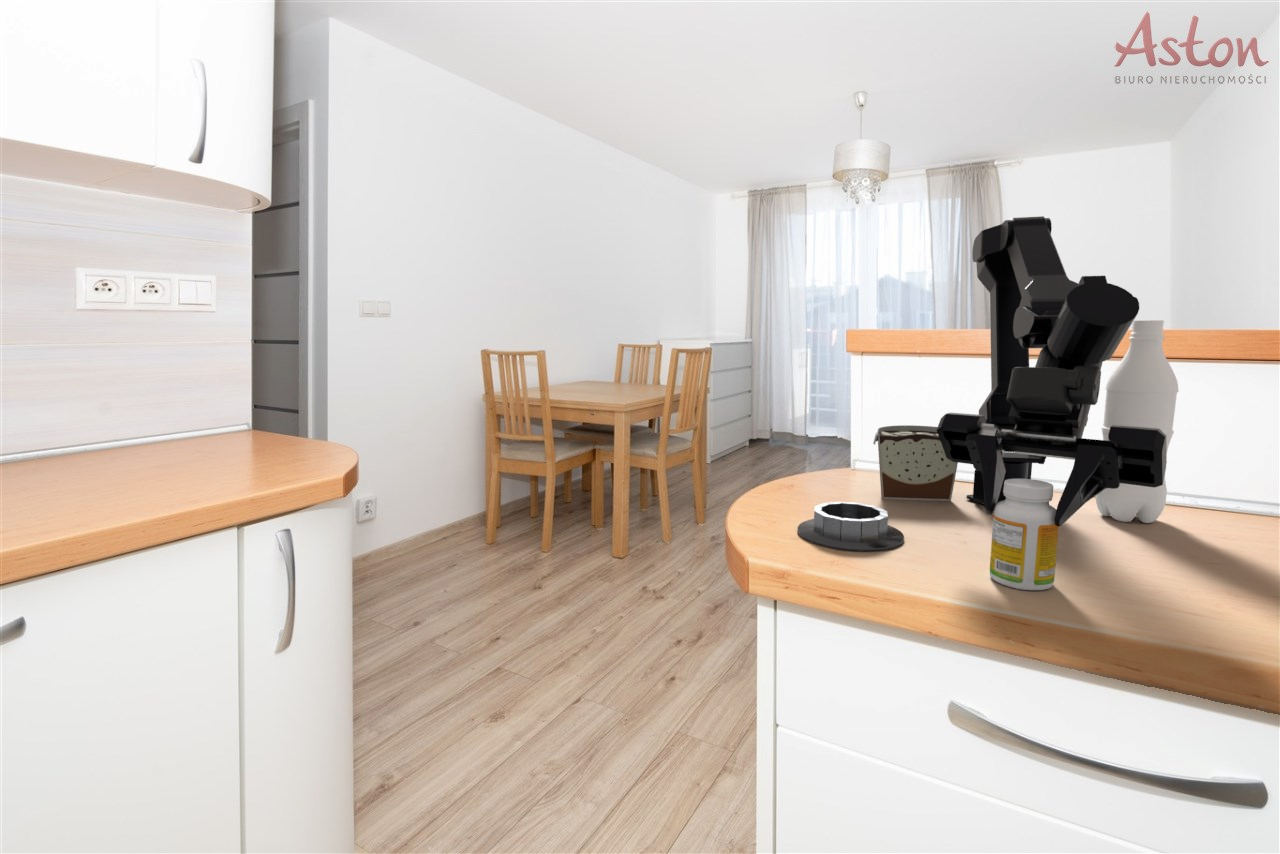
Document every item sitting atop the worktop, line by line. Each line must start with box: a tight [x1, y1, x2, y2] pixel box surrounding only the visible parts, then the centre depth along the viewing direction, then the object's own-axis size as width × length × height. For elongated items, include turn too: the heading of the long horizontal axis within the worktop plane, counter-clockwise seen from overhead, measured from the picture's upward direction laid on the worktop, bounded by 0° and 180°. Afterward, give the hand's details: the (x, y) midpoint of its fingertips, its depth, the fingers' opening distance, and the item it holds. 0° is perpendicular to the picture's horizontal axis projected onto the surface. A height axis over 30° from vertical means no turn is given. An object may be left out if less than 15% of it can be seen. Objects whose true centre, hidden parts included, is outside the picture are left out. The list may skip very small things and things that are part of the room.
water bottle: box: [1094, 319, 1179, 524], centre depth 80 cm, size 7×7×25 cm
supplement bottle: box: [989, 478, 1060, 591], centre depth 61 cm, size 5×5×10 cm
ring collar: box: [797, 501, 905, 552], centre depth 76 cm, size 12×12×3 cm
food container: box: [872, 424, 959, 502], centre depth 94 cm, size 12×6×10 cm, turn 81°
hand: (1021, 517), depth 60 cm, fingers closed on supplement bottle, 5 cm apart
